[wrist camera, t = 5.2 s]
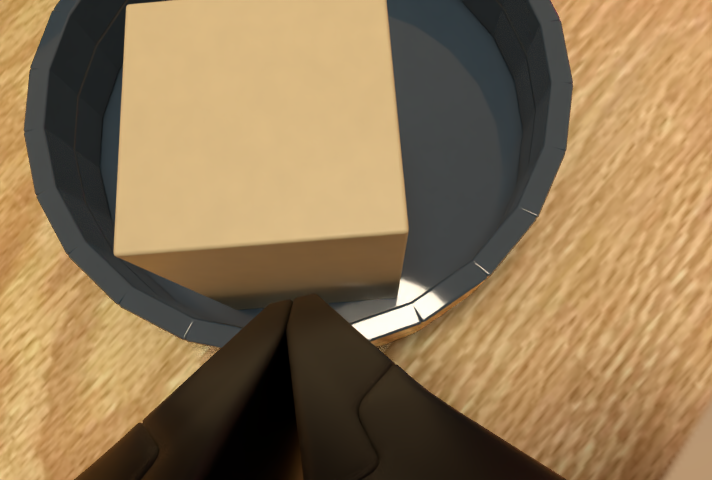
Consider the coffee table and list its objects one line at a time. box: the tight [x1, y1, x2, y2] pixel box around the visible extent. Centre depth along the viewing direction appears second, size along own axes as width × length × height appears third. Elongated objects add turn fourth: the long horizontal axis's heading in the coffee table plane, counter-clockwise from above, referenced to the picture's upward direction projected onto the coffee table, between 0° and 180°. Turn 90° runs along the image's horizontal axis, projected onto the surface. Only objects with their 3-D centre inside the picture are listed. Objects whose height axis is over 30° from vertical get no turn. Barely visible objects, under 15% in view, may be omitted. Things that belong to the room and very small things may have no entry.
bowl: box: [24, 0, 573, 348], centre depth 16 cm, size 15×15×4 cm
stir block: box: [114, 0, 409, 310], centre depth 13 cm, size 5×5×8 cm
